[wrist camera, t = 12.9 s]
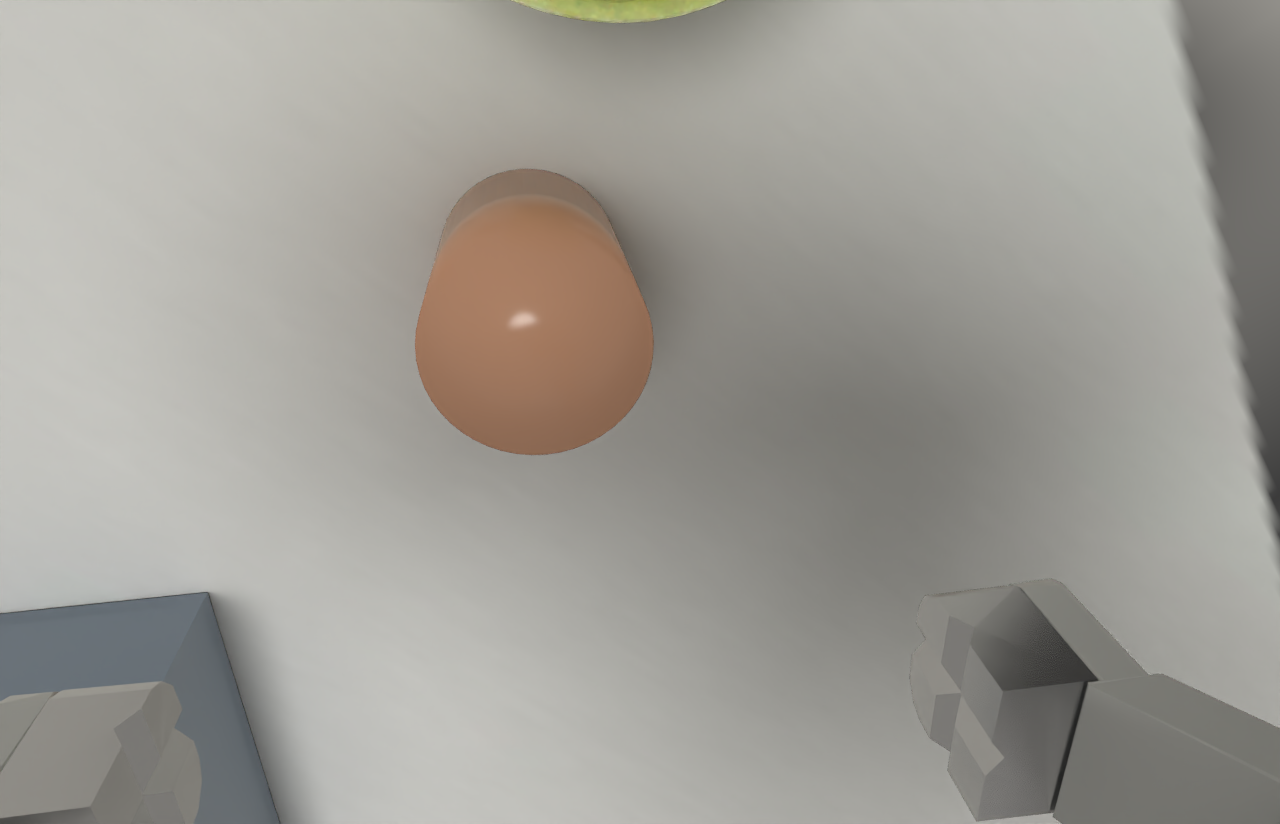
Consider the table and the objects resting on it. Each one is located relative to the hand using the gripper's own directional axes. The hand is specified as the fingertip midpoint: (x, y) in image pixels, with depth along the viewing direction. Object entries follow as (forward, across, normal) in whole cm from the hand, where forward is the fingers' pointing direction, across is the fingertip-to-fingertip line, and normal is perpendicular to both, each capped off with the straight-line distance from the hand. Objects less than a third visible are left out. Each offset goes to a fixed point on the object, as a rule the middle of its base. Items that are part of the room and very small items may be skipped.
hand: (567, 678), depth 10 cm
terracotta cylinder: (+17, 0, 0) cm, 17 cm away
